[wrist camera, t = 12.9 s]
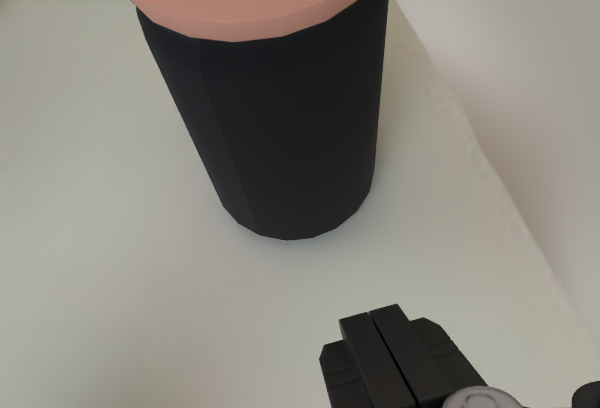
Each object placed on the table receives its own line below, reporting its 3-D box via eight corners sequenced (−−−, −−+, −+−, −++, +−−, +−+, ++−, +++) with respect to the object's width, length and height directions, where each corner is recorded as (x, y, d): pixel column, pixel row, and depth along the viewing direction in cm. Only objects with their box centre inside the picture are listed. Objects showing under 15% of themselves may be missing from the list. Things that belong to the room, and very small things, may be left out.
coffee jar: (393, 139, 35) (431, -136, 19) (340, 271, 30) (332, 54, 15) (258, 101, 38) (195, -167, 22) (192, 217, 33) (52, -14, 17)
